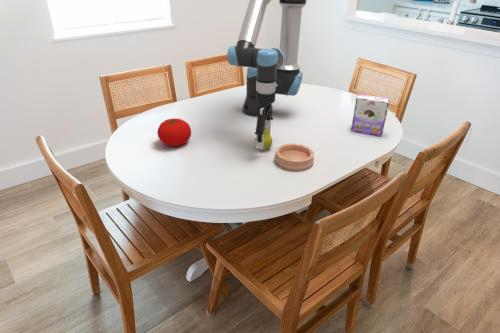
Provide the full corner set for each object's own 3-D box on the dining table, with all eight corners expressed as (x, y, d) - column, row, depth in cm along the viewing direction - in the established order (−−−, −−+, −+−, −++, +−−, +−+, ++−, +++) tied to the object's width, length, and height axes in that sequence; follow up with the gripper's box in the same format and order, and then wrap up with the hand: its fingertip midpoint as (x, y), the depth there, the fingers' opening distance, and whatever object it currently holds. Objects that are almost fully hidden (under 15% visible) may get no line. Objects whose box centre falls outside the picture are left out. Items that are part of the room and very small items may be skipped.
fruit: (259, 153, 152) (260, 126, 146) (252, 146, 157) (253, 120, 151) (274, 150, 154) (276, 124, 148) (267, 143, 160) (268, 117, 154)
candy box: (383, 132, 172) (390, 98, 164) (381, 137, 167) (388, 102, 159) (352, 126, 177) (358, 93, 168) (350, 131, 172) (356, 97, 164)
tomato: (180, 133, 167) (178, 111, 161) (198, 143, 159) (196, 120, 154) (152, 143, 158) (149, 120, 153) (169, 154, 150) (167, 130, 145)
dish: (271, 167, 142) (272, 158, 140) (278, 150, 155) (279, 141, 153) (310, 173, 139) (312, 164, 137) (315, 155, 152) (316, 146, 150)
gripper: (268, 103, 132) (265, 156, 143) (281, 82, 153) (278, 130, 164) (247, 101, 133) (246, 153, 144) (263, 81, 154) (261, 128, 165)
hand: (263, 141), depth 154 cm, fingers open, 13 cm apart
